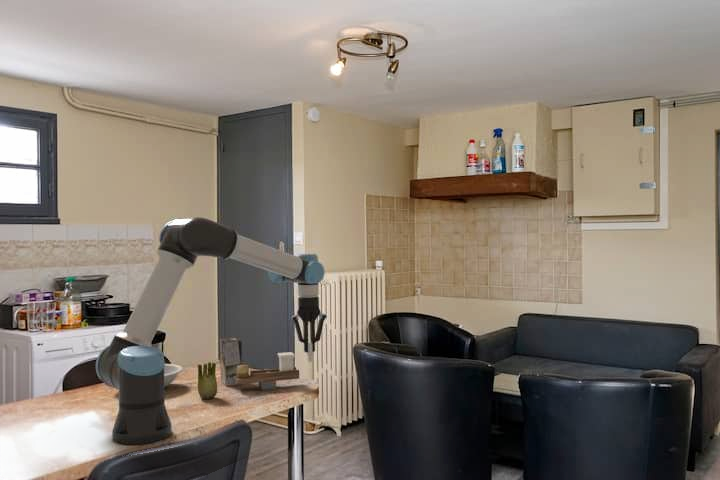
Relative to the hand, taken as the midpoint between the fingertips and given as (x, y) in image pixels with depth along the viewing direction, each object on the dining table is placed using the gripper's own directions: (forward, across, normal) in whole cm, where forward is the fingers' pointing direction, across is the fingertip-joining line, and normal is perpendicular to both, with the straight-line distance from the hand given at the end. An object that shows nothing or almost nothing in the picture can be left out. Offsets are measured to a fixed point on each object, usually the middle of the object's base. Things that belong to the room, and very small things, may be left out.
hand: (309, 360), depth 217 cm
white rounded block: (+4, +9, 0) cm, 9 cm away
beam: (+8, +16, 0) cm, 18 cm away
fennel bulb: (+8, +37, +6) cm, 38 cm away
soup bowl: (+8, +56, -15) cm, 58 cm away
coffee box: (+9, +27, -13) cm, 31 cm away
